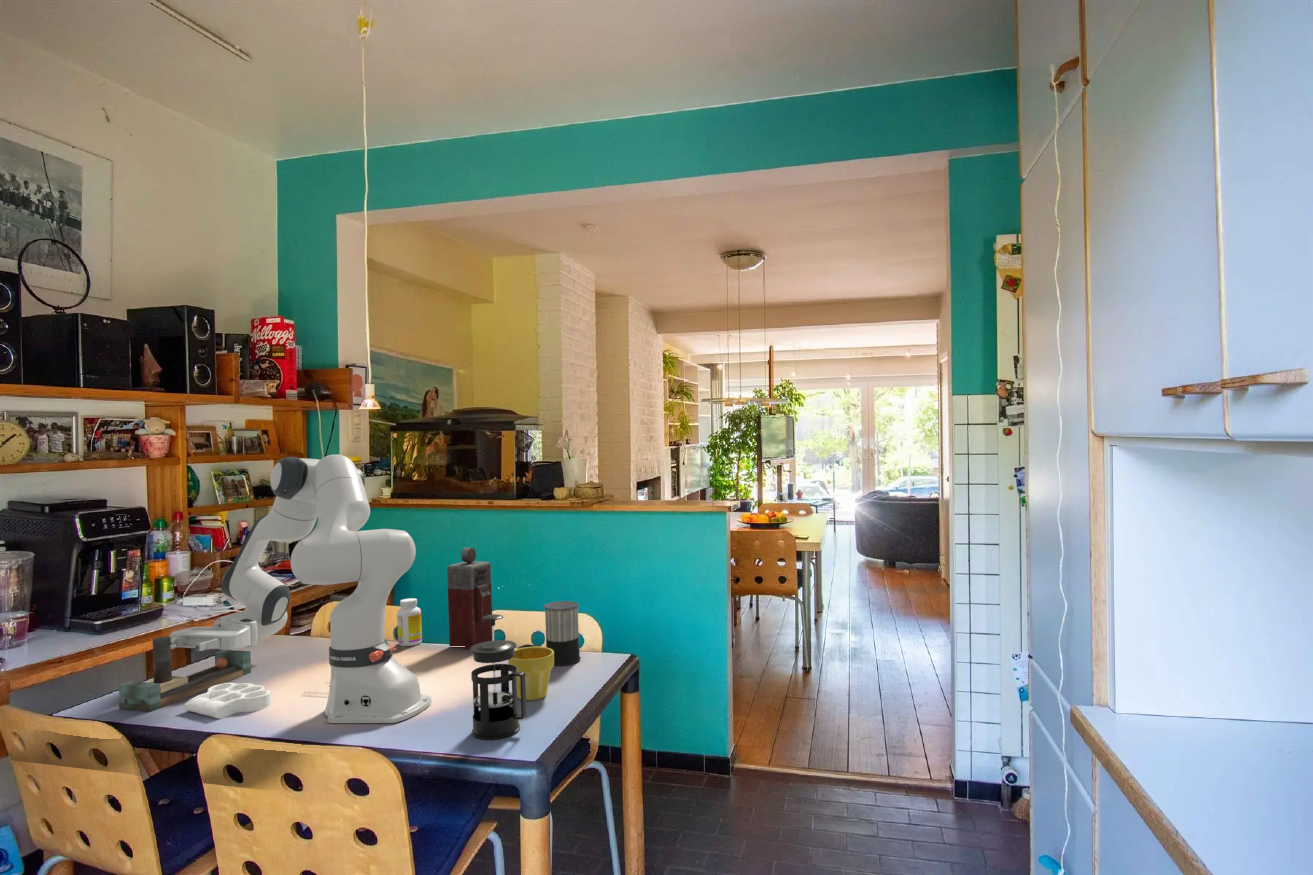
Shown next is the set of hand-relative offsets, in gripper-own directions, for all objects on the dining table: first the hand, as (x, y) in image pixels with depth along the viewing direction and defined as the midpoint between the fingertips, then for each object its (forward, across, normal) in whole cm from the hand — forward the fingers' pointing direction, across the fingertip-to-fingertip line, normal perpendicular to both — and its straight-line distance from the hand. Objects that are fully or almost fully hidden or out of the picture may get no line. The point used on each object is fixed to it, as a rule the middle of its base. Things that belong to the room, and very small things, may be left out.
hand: (182, 646), depth 175 cm
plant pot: (-13, +86, +11) cm, 88 cm away
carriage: (+5, 0, +8) cm, 10 cm away
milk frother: (-38, +79, +11) cm, 88 cm away
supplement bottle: (-47, +31, +11) cm, 57 cm away
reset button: (-11, 0, +9) cm, 14 cm away
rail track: (-2, 0, +11) cm, 11 cm away
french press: (+7, +88, +11) cm, 89 cm away
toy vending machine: (-49, +51, +11) cm, 71 cm away
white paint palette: (+5, +20, +12) cm, 24 cm away
